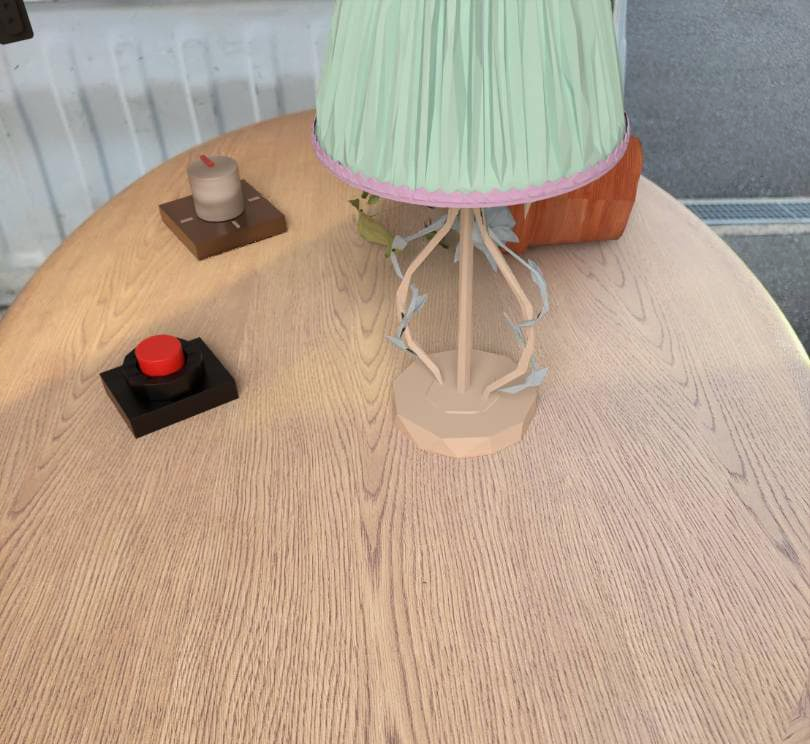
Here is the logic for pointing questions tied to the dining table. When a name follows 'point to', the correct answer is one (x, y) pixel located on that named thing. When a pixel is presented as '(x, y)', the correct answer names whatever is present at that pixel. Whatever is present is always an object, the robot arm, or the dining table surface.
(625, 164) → the potted plant
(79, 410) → the dining table surface
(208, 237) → the dimmer panel
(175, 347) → the light button
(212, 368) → the switch block
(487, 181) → the table lamp
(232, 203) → the dimmer knob
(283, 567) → the dining table surface
